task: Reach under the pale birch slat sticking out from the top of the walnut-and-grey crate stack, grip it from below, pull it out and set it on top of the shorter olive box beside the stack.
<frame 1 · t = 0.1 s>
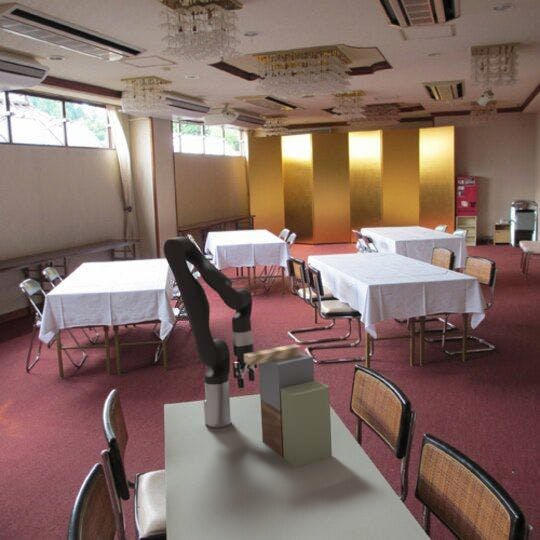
hand: (246, 384, 215), 17 cm above the table, tool pointing down, fingers open, 8 cm apart
walnut crate: (289, 443, 202), on the table
birch slat: (272, 358, 195), point 32 cm above the table, touching grey crate
olive box: (307, 456, 191), on the table
grey crate: (286, 378, 199), on the walnut crate, point 24 cm above the table
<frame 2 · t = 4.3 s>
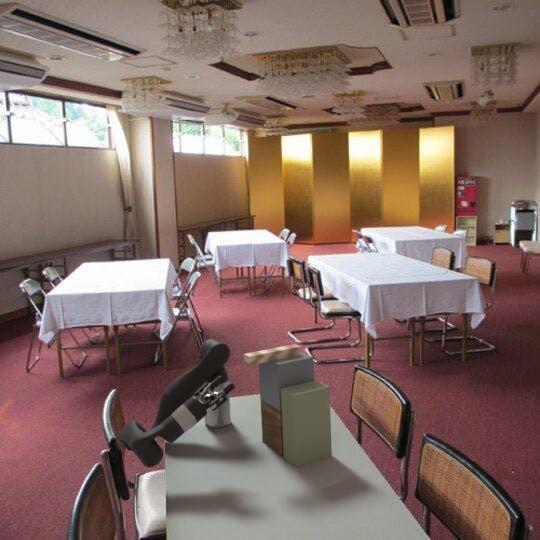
hand: (227, 381, 188), 27 cm above the table, tool pointing upward, fingers open, 8 cm apart
nothing on the table moved.
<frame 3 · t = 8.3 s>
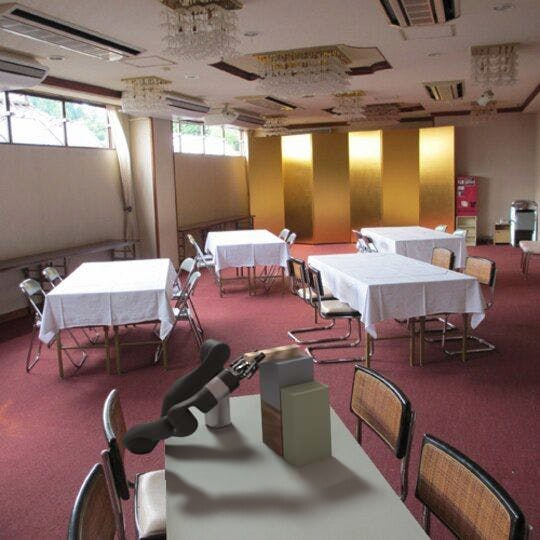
hand: (260, 352, 193), 35 cm above the table, tool pointing upward, fingers closed on birch slat, 4 cm apart
birch slat: (272, 358, 195), point 32 cm above the table, touching grey crate, gripper
everything else where it was.
when the fingers open (28 cm above the table, at t = 19.3 s): birch slat drops 1 cm, resting on olive box.
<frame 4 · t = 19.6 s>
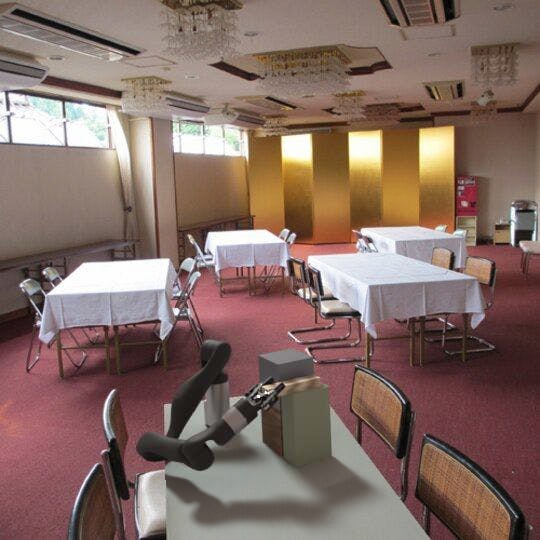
hand: (278, 381, 183), 28 cm above the table, tool pointing upward, fingers open, 6 cm apart
birch slat: (291, 390, 186), point 24 cm above the table, touching olive box
everything else where it was.
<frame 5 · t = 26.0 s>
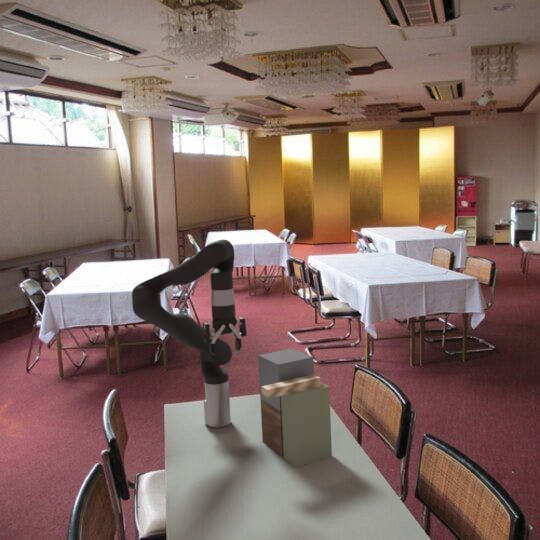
hand: (226, 352, 184), 38 cm above the table, tool pointing down, fingers open, 8 cm apart
nothing on the table moved.
at the end: birch slat inside the target area on the olive box (0.2 cm from its centre), point 24.0 cm above the olive box's base; birch slat touching olive box; the gripper is holding nothing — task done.
